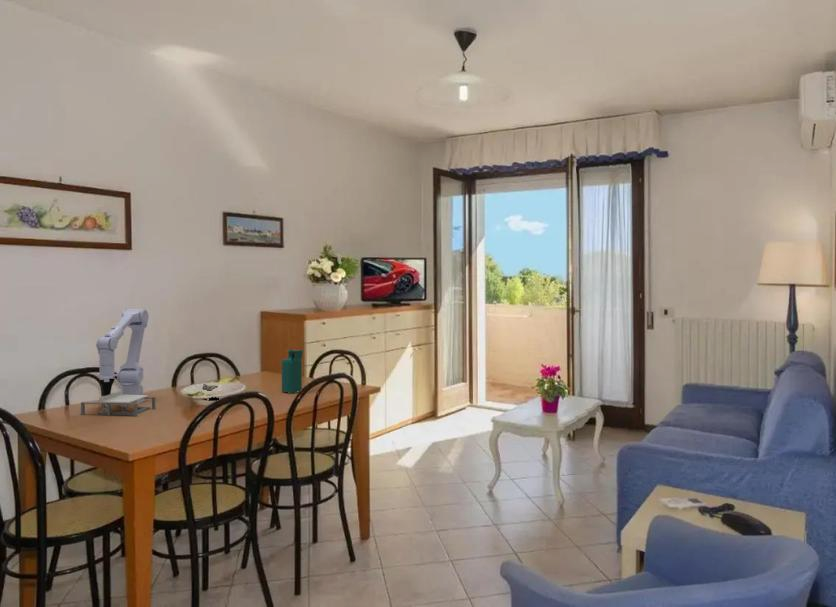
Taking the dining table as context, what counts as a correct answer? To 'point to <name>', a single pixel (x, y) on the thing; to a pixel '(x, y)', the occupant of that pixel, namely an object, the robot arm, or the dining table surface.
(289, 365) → the teal bottle
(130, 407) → the brown round cylinder
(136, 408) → the grey base stand
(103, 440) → the dining table surface
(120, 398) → the lid
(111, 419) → the dining table surface
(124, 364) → the robot arm
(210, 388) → the caster wheel
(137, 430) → the dining table surface
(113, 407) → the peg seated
